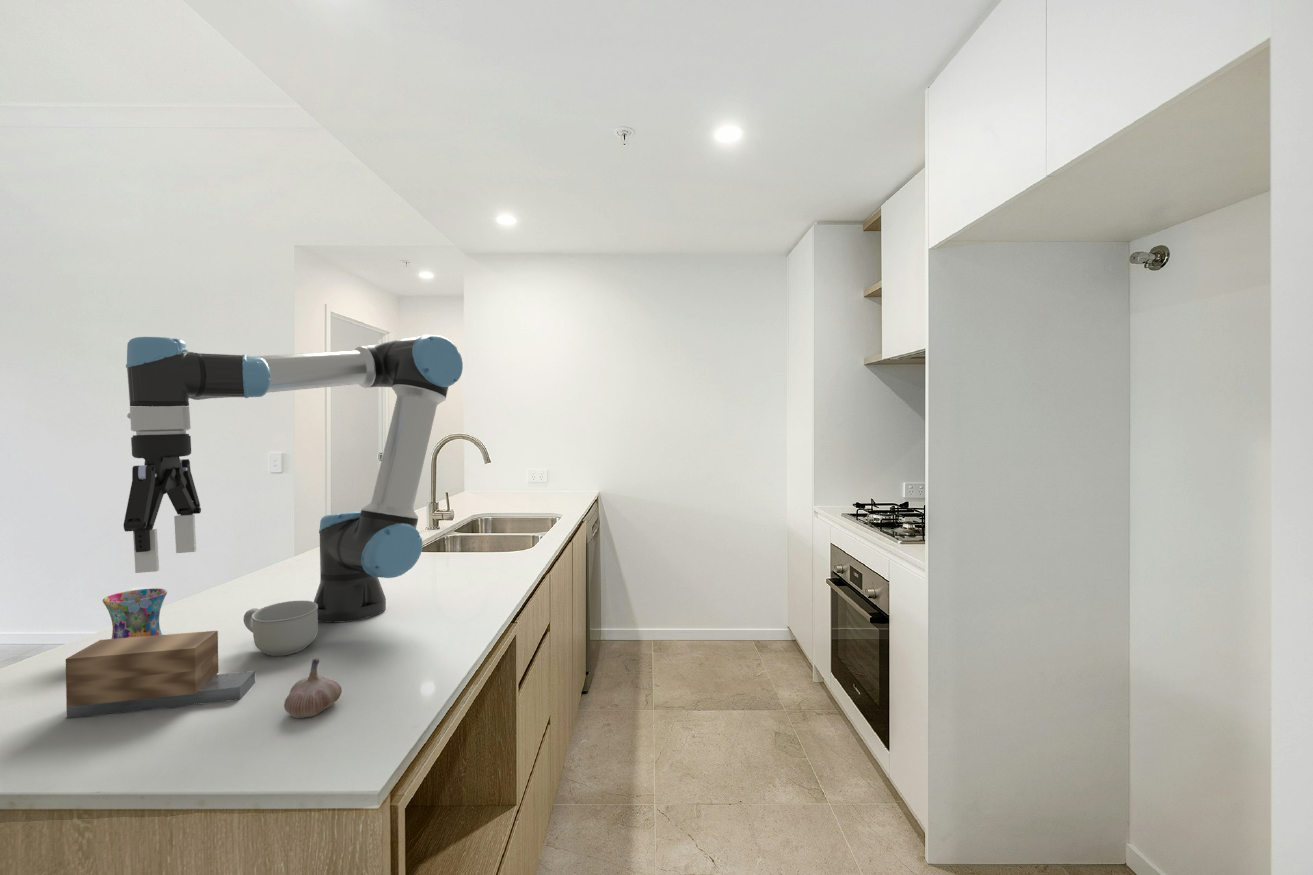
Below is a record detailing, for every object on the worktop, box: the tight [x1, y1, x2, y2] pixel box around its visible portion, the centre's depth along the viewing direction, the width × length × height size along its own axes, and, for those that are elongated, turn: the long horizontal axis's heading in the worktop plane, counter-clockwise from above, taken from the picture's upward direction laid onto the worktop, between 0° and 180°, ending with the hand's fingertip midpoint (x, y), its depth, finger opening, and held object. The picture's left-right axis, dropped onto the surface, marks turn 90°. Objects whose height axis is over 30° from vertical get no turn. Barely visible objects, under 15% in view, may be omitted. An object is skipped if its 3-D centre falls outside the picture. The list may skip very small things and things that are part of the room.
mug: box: [102, 587, 168, 639], centre depth 115 cm, size 12×9×11 cm
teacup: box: [243, 600, 319, 657], centre depth 114 cm, size 14×11×8 cm
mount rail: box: [65, 670, 256, 719], centre depth 93 cm, size 22×6×5 cm, turn 106°
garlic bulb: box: [283, 657, 342, 719], centre depth 90 cm, size 8×7×8 cm
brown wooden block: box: [65, 630, 219, 707], centre depth 93 cm, size 16×8×7 cm, turn 106°
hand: (168, 561), depth 99 cm, fingers open, 13 cm apart
